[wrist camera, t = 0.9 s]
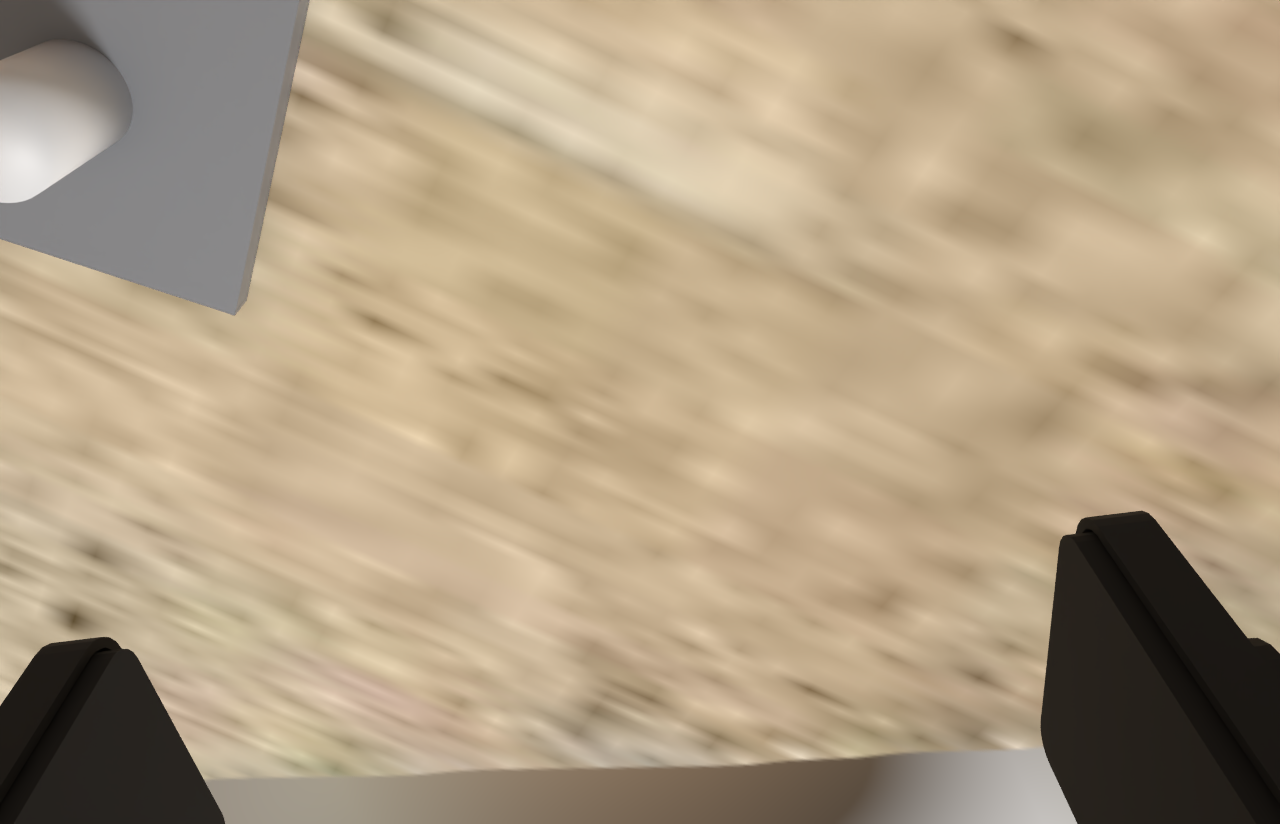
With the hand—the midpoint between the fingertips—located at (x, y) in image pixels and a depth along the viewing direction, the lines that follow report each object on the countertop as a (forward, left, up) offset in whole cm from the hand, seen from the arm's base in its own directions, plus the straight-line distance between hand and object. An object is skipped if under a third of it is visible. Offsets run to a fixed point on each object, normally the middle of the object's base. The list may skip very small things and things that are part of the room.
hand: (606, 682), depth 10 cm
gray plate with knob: (+9, -18, -32) cm, 38 cm away
